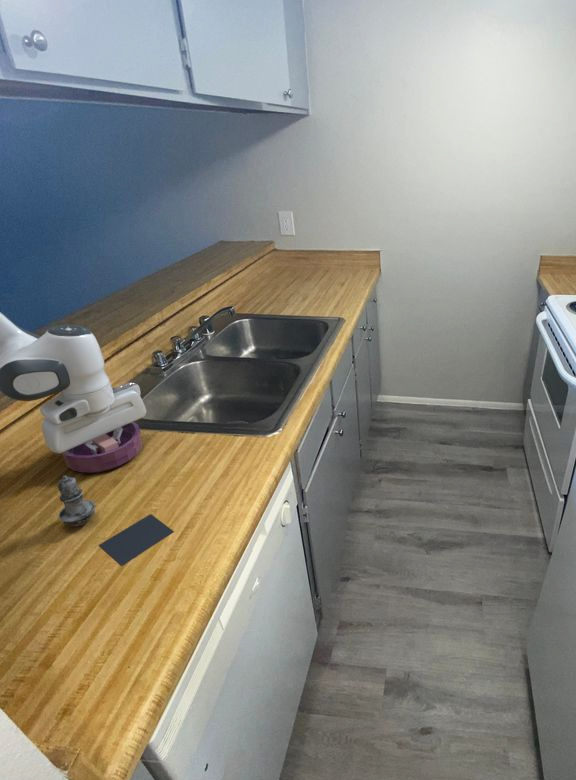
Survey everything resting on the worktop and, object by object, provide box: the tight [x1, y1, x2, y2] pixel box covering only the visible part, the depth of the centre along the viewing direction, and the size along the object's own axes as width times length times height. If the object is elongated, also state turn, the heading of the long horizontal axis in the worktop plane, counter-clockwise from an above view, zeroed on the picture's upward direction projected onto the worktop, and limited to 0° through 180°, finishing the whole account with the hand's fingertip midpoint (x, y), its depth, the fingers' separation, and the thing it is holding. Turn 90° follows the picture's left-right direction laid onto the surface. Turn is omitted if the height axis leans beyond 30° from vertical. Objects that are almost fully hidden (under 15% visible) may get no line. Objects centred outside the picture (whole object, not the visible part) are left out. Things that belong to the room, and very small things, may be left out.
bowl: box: [61, 421, 144, 474], centre depth 109 cm, size 16×16×5 cm
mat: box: [98, 513, 175, 567], centre depth 88 cm, size 10×8×1 cm
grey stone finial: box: [57, 474, 96, 527], centre depth 88 cm, size 6×6×12 cm
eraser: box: [92, 434, 119, 454], centre depth 109 cm, size 6×3×4 cm, turn 56°
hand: (106, 448), depth 109 cm, fingers closed on eraser, 3 cm apart
